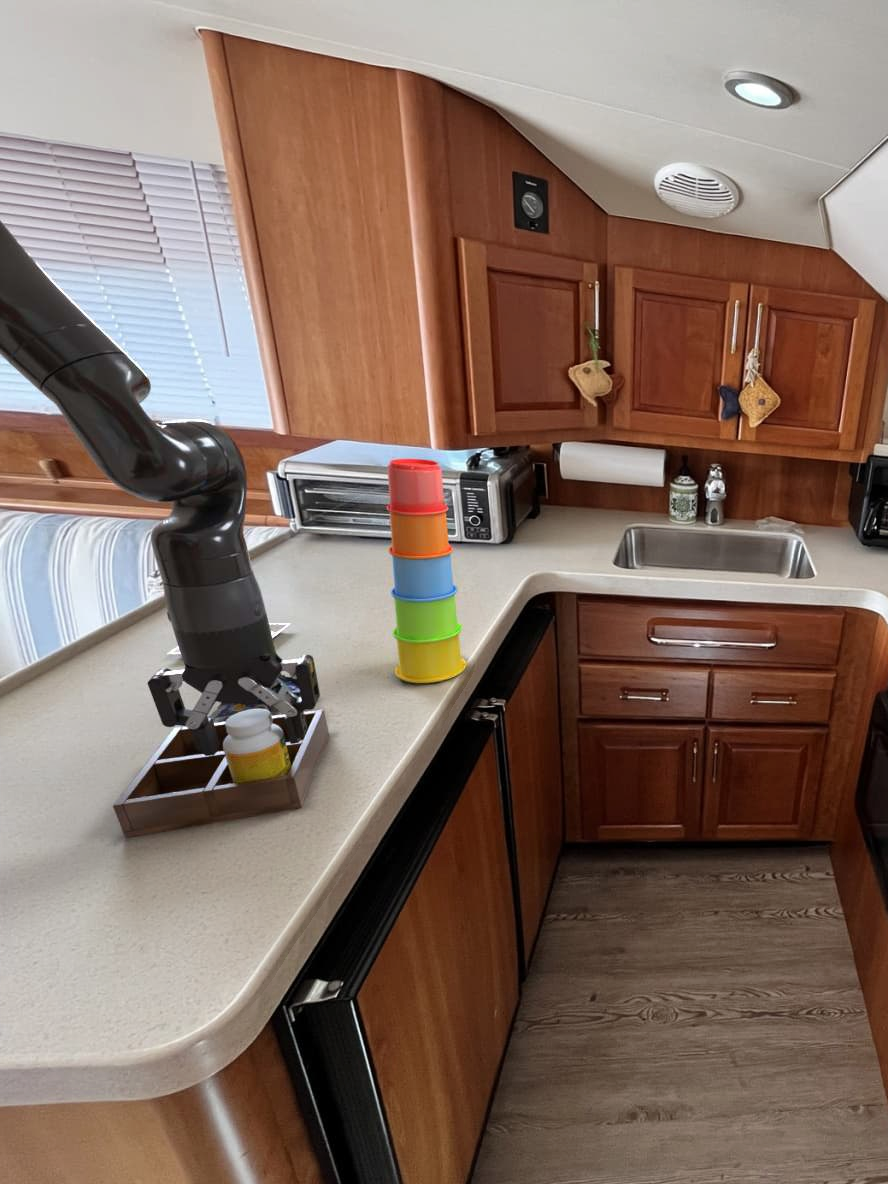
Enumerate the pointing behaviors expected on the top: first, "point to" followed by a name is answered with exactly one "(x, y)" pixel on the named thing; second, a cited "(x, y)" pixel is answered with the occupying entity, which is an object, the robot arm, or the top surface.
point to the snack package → (257, 704)
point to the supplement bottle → (255, 746)
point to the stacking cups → (422, 574)
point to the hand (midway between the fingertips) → (255, 745)
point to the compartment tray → (214, 782)
